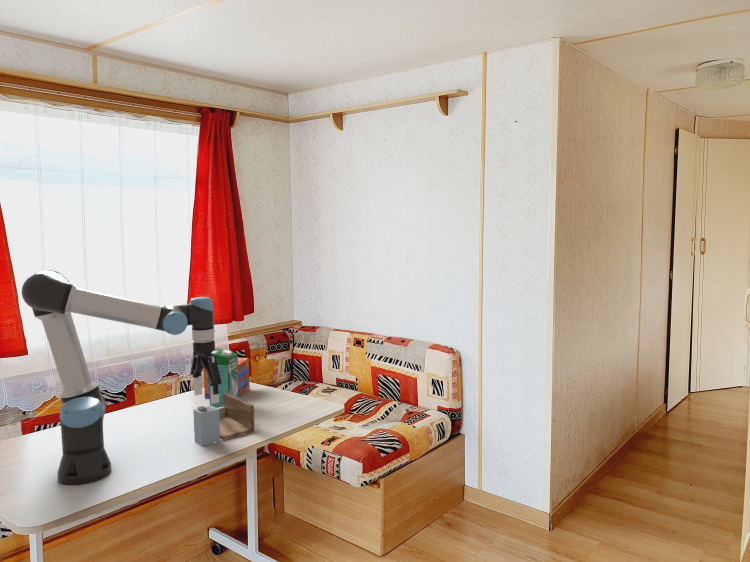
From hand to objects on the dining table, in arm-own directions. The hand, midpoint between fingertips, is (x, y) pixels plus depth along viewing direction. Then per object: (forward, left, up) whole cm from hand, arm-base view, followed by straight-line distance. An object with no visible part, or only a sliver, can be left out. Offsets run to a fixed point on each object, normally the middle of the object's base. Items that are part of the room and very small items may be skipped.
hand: (206, 398), depth 207 cm
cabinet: (0, 0, -16) cm, 16 cm away
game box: (+33, +49, -16) cm, 61 cm away
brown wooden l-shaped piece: (+11, +8, -16) cm, 21 cm away
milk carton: (+23, +32, -16) cm, 42 cm away
